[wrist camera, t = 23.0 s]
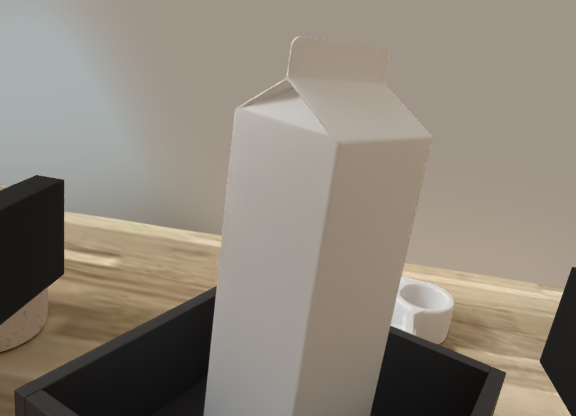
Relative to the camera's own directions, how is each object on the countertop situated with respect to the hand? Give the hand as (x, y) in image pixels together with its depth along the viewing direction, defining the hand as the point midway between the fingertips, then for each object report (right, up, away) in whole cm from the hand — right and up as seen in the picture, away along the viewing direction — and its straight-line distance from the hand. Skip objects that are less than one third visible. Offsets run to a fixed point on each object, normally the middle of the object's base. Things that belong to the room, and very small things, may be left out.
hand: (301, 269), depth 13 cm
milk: (-1, -13, +14) cm, 19 cm away
